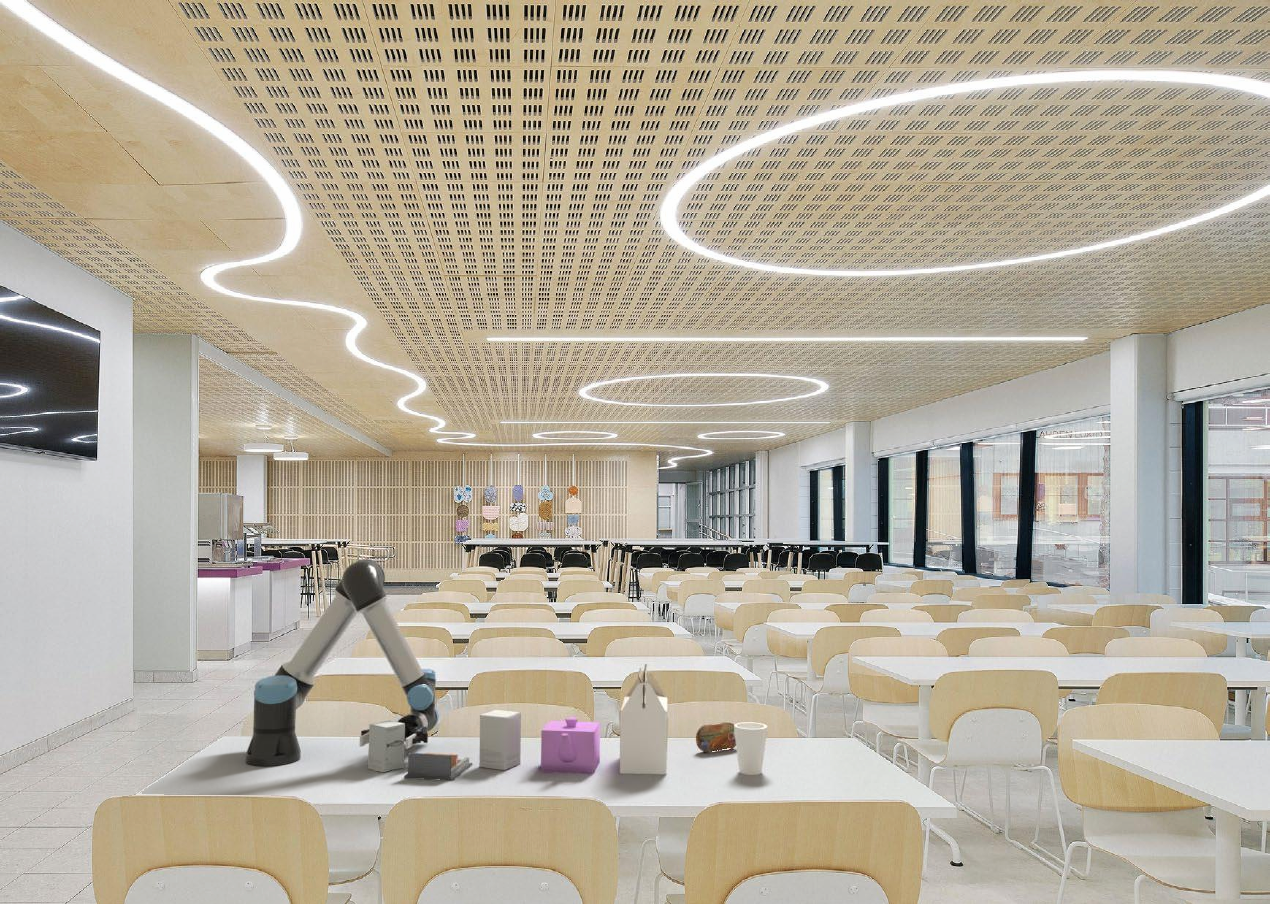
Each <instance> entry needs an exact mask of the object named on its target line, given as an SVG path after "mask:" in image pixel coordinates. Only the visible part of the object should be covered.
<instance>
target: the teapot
mask: <svg viewBox="0 0 1270 904" xmlns="http://www.w3.org/2000/svg"><path fill="white" fill-rule="evenodd" d="M578 719H579V718H577V717H573V716H572V717H566V718H564V720H549V721H548V723H546V725H545V726H544V727H543V728H542V730H541V731H540V732H541V733H540V735H541V742H540V743H541V744H540V745H541V746H540V751H541V752H540V773H555V772H556V773H559V774H560V773H561V774H563V773H564V774H585V775H586V774H589V775H594V774H595V772H596V770H597V768H598V766H599V764H600V762H601V761H600V759H601V758H600V756H601V754H600V752H601V747H600V746H601V745H600V744H601V723H600V722H598V721H597V722H596V721H594V722H593V721H578Z"/></svg>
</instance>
